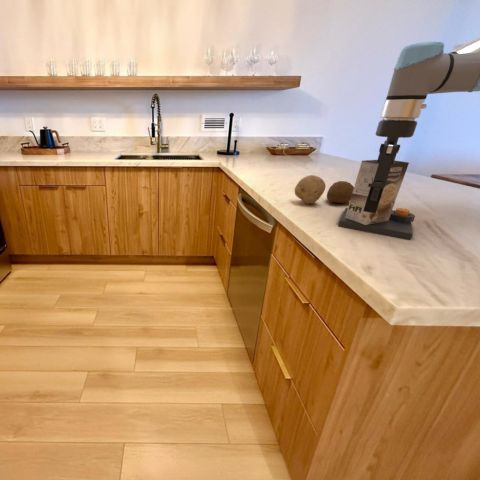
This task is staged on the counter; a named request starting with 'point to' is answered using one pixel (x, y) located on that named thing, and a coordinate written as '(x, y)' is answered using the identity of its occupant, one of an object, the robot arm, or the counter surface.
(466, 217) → the counter surface
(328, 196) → the potato
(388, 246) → the counter surface
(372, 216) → the coffee box
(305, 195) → the light tan potato
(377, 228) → the scale
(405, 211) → the tare button
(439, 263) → the counter surface
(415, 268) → the counter surface
